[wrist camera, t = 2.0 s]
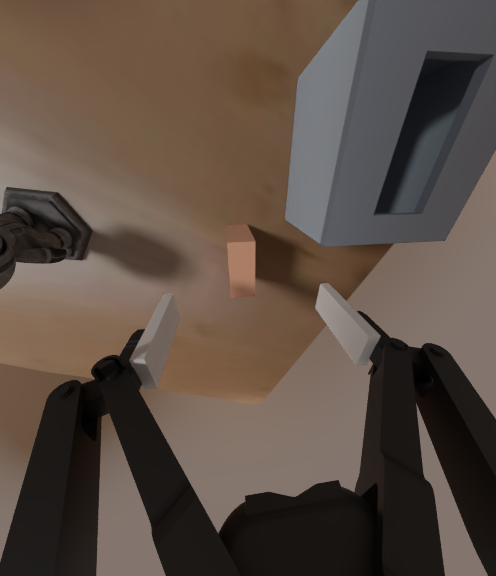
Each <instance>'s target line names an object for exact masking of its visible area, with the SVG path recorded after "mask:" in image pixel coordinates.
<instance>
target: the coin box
mask: <svg viewBox="0 0 496 576" xmlns="http://www.w3.org/2000/svg"><path fill="white" fill-rule="evenodd" d="M495 150H496V0H358V2H357V3H356V4H355V5H354V7H353V8H352V9H351V11H350V12H349V13H348V14H347V16H346V17H345V18H344V20H343V21H342V22H341V23H340V25H339V26H338V27H337V29H336V30H335V31H334V32H333V34H332V35H331V36H330V38H329V39H328V40H327V41H326V43H325V44H324V45H323V47H322V48H321V49H320V50H319V52H318V53H317V54H316V56H315V57H314V58H313V59H312V61H311V62H310V63H309V65H308V66H307V67H306V68H305V70H304V71H303V72H302V74H301V75H300V76H299V77H298V83H297V94H296V105H295V116H294V127H293V138H292V148H291V159H290V170H289V181H288V192H287V203H286V214H285V220H287V221H288V222H290V223H291V224H292V225H294V226H295V227H297V228H298V229H299V230H301V231H302V232H304V233H305V234H307V235H308V236H309V237H311V238H312V239H314V240H315V241H317V242H318V243H319V244H321V245H322V246H324V247H330V246H350V245H370V244H389V243H409V242H426V241H427V242H428V241H445V240H446V238H447V236H448V234H449V232H450V231H451V229H452V227H453V225H454V224H455V222H456V220H457V218H458V216H459V215H460V213H461V211H462V209H463V207H464V206H465V204H466V202H467V200H468V198H469V197H470V195H471V193H472V191H473V189H474V188H475V186H476V184H477V182H478V180H479V178H480V177H481V175H482V173H483V172H484V170H485V168H486V166H487V164H488V163H489V161H490V159H491V157H492V155H493V154H494V152H495Z"/></svg>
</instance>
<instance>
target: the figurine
mask: <svg viewBox="0 0 496 576" xmlns="http://www.w3.org/2000/svg"><path fill="white" fill-rule="evenodd" d="M91 233H92V230H91V229H90V228H89V227H88V226H87V225H86V224H85V222H84V221H83V220H82V219H81V218H80V217H79V216H78V215H77V214H76V212H75V211H74V210H73V209H72V208H71V207H70V206H69V205H68V204H67V202H66V201H65V200H64V199H63V198H62V197H61V196H60V195H59V194H58V193H57V192H48V191H39V190H29V189H20V188H11V187H7V188H6V190H5V193H4V200H3V208H2V214H0V289H1V288H2V287H4V286H5V285H6V284H7V283H8V281H9V280H10V279H11V277H12V276H13V273H14V271H15V266H16V262H23V263H56V262H60V261H62V260H64V259H69V260H82V259H83V256H84V253H85V251H86V248H87V245H88V242H89V239H90V236H91Z"/></svg>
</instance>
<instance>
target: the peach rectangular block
mask: <svg viewBox="0 0 496 576" xmlns="http://www.w3.org/2000/svg"><path fill="white" fill-rule="evenodd" d="M226 234H227V249H228V263H229V277H230V291H231V298H237V297H250V296H255V243H256V241H255V239H254V237H253V235H252V233H251V231H250V229H249V227H248V225H247V224H241V225H226Z"/></svg>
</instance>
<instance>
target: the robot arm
mask: <svg viewBox="0 0 496 576" xmlns="http://www.w3.org/2000/svg"><path fill="white" fill-rule="evenodd" d="M315 308H316V310H317V311H318V313H319V314H320V315H321V317H322V318H323V320H324V321H325V323H326V324H327V325H328V326H329V328H330V330H331V331H332V333H333V334H334V335H335V337H336V338H337V340H338V341H339V343H340V344H341V345H342V347H343V348H344V350H345V351H346V353H347V354H348V355H349V357H350V358H351V359H352V361H353V362H354V364H355V365H356V366H361V365H367V363H368V361H369V359H370V360H371V361H372V363H373V365H372V367H371V369H370V371H369V373H368V374H370V373H371V377H370V385H369V394H368V403H367V413H366V421H365V430H364V439H363V448H362V457H361V467H360V474H359V477H358V480H357V483H356V488H355V492H352V491H351V490H349V489H346V488H343V487H341V486H340V483H339V480H336V481H331V482H324V483H318V484H315V485H314V486H312V487H311V488H309V489H308V490H306V491H304V492H303V493H301V494H300V495H298V496H296V497H290V496H286V495H281V494H277V493H272V492H265V493H259V494H253V495H248V496H245V500H246V503H245V502H244V503H242V504H241V505H239V506H238V507H237V508H236V509H235V510H234V511H233V512H232V513H231V514H230V515H229V516H228V518H227V519H226V521H225V522H224V524H223V526H222V528H221V529H220V531H219V533H217V531H216V529H215V527H214V525H213V524H212V522H211V520H210V518H209V516H208V515H207V513H206V511H205V509H204V507H203V506H202V504H201V502H200V500H199V499H198V497H197V495H196V493H195V491H194V490H193V488H192V486H191V484H190V482H189V480H188V479H187V477H186V475H185V473H184V471H183V470H182V468H181V466H180V464H179V462H178V461H177V459H176V457H175V455H174V454H173V452H172V450H171V448H170V446H169V444H168V443H167V441H166V439H165V437H164V435H163V433H162V432H161V430H160V428H159V426H158V424H157V423H156V421H155V419H154V417H153V415H152V414H151V412H150V410H149V408H148V406H147V405H146V403H145V401H144V399H143V397H142V396H141V394H140V392H139V390H140V387H141V385H142V386H143V388H144V389H154V388H158V384H159V381H160V378H161V375H162V372H163V369H164V365H165V362H166V359H167V356H168V353H169V350H170V347H171V343H172V340H173V337H174V334H175V331H176V328H177V325H178V321H179V315H178V311H177V308H176V304H175V300H174V296H173V294H163V296H162V298H161V300H160V302H159V304H158V306H157V308H156V310H155V312H154V313H153V315H152V317H151V319H150V321H149V323H148V325H147V327H146V329H141V330H137V331H136V332H135V333H134V334H133V335H132V336H131V337H130V339H129V341H128V343H127V344H126V346H125V348H124V349H123V351H122V353H121V354H120V356H118V355H111V356H107V357H105V358H103V359H101V360H100V361H98V362H97V363H96V364H95V365H94V366H93V368H92V370H91V374H92V375H93V377H94V378H95V380H92V381H90V382H87V383H84V384H81V383H80V382H79V381H78V380H71V381H68V382H65V383H63V384H62V385H60V386H58V387H57V388H56V389H54V390H53V391H52V392H51V394H50V395H49V396H48V398H47V401H46V404H45V408H44V411H43V415H42V418H41V422H40V425H39V429H38V432H37V436H36V439H35V443H34V447H33V450H32V453H31V457H30V460H29V464H28V467H27V471H26V474H25V478H24V481H23V485H22V488H21V492H20V495H19V499H18V503H17V506H16V509H15V513H14V516H13V520H12V523H11V527H10V530H9V534H8V537H7V541H6V544H5V548H4V551H3V555H2V559H1V562H0V576H96V564H97V535H98V506H99V478H100V448H101V447H100V446H101V420H102V416H103V415H106V414H108V413H110V416H111V419H112V421H113V424H114V426H115V429H116V432H117V435H118V437H119V440H120V442H121V445H122V448H123V451H124V453H125V456H126V459H127V461H128V464H129V467H130V469H131V472H132V475H133V477H134V480H135V483H136V485H137V488H138V490H139V493H140V496H141V499H142V501H143V504H144V506H145V509H146V512H147V515H148V517H149V520H150V523H151V527H152V537H153V541H154V544H155V547H156V550H157V553H158V555H159V558H160V561H161V564H162V566H163V569H164V572H165V575H166V576H445V573H444V565H443V558H442V550H441V542H440V535H439V527H438V519H437V511H436V504H435V497H434V492H433V488H432V486H431V484H430V483H429V482H428V481H427V480H425V478H424V474H423V466H422V457H421V447H420V437H419V427H418V418H417V408H416V403H417V406H418V408H419V411H420V413H421V416H422V418H423V420H424V423H425V426H426V428H427V431H428V433H429V436H430V438H431V441H432V443H433V446H434V449H435V451H436V454H437V456H438V459H439V461H440V464H441V466H442V469H443V471H444V474H445V476H446V479H447V481H448V484H449V486H450V489H451V491H452V494H453V496H454V499H455V502H456V504H457V507H458V509H459V512H460V514H461V517H462V519H463V522H464V524H465V527H466V529H467V532H468V534H469V536H470V539H471V541H472V543H473V546H474V548H475V550H476V552H477V555H478V556H479V558H480V560H481V562H482V564H483V566H484V568H485V570H486V572H487V574H488V576H496V419H495V417H494V416H493V415H492V413H491V412H490V410H489V409H488V408H487V406H486V405H485V403H484V402H483V400H482V399H481V398H480V396H479V395H478V393H477V392H476V390H475V389H474V387H473V386H472V384H471V383H470V382H469V380H468V379H467V377H466V376H465V374H464V373H463V372H462V370H461V369H460V367H459V366H458V364H457V363H456V361H455V360H454V359H453V357H452V356H451V354H450V353H449V352H448V351H447V350H445V349H444V348H442V347H440V346H438V345H435V344H432V343H426V344H424V345H423V346H422V348H415V347H409V346H408V345H407V344H406V343H404V342H403V341H401V340H399V339H395V338H390V337H389V336H388V335H387V334H386V333H385V332H384V331H383V330H382V329H381V328H380V327H379V326H378V325H376V324H375V322H373V321H372V320H371V319H370V318H369V317H368V316H367V315H366V314H364V313H363V312H361V311H356V310H355V309H354V308H353V307H352V306H350V304H349V303H348V302H347V301H346V300H345V299H344V298H343V297H342V296H341V295H340V294H339V293H338V292H337V291H336V290H335V289H334V288H333V287H332V286H331V285H330V284H329V283H323V284H320V288H319V293H318V297H317V302H316V306H315Z"/></svg>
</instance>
